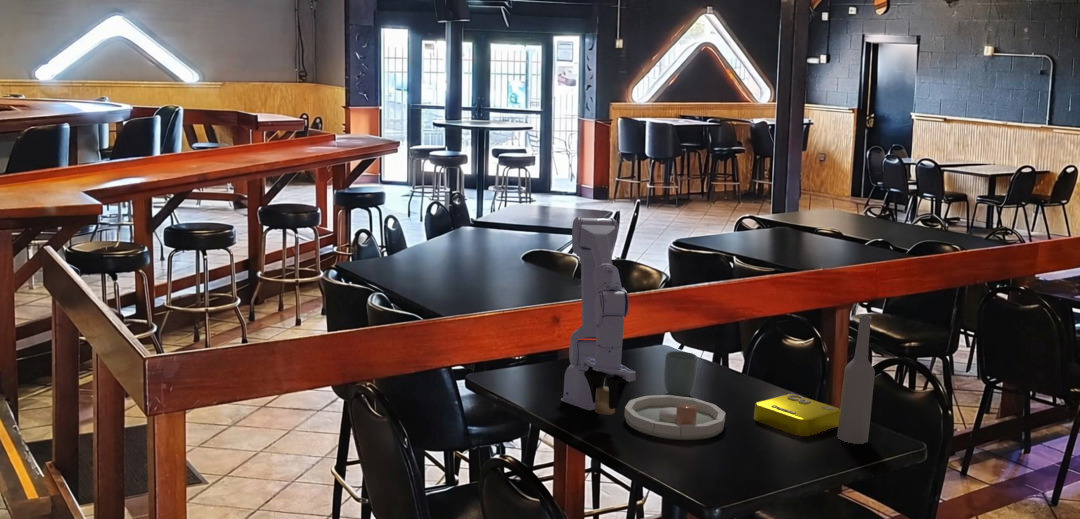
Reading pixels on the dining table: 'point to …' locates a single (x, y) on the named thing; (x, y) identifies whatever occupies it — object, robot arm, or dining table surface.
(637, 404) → the groove tray
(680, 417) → the terracotta bead
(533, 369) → the dining table surface
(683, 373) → the cup
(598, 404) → the maple bead
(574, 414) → the dining table surface
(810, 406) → the element tile
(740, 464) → the dining table surface
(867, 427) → the bottle
